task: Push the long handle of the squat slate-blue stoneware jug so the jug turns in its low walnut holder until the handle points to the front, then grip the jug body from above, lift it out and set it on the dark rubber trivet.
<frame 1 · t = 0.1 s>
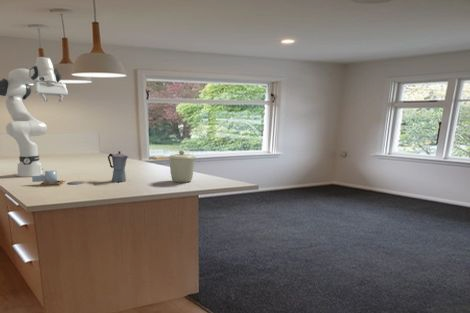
hand: (53, 101, 209), 52 cm above the countertop, tool tilted 20°, fingers open, 8 cm apart
mat: (76, 184, 206), on the countertop
canister: (182, 181, 220), on the countertop
moka pot: (118, 181, 219), on the countertop
holder: (51, 185, 203), on the countertop
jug: (51, 184, 203), point 1 cm above the countertop, touching holder
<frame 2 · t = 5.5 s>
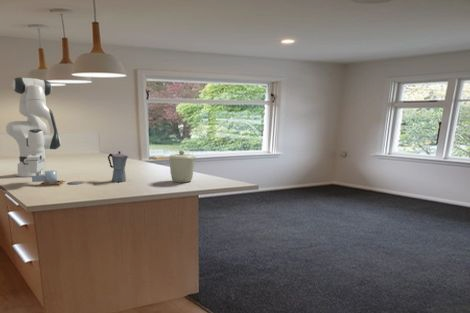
hand: (38, 177, 202), 5 cm above the countertop, tool pointing down, fingers closed
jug: (51, 184, 203), point 1 cm above the countertop, touching gripper
everything else where it was.
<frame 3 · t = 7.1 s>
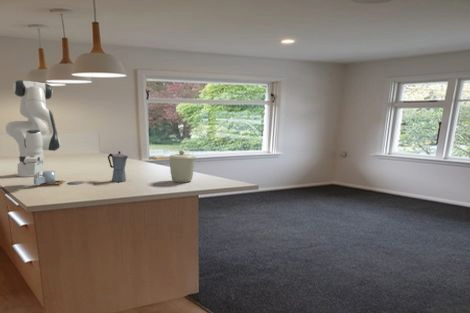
hand: (36, 180, 195), 4 cm above the countertop, tool pointing down, fingers closed
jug: (49, 184, 202), point 1 cm above the countertop, touching gripper, holder
everything else where it was.
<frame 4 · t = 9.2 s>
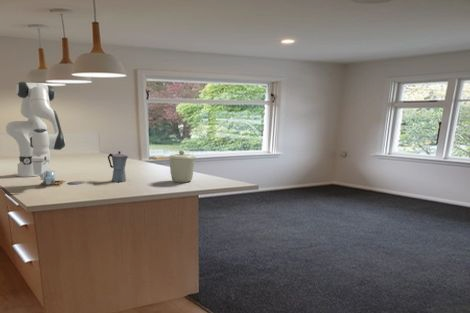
hand: (43, 179, 194), 5 cm above the countertop, tool pointing down, fingers closed
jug: (49, 184, 202), point 1 cm above the countertop, touching holder
everything else where it was.
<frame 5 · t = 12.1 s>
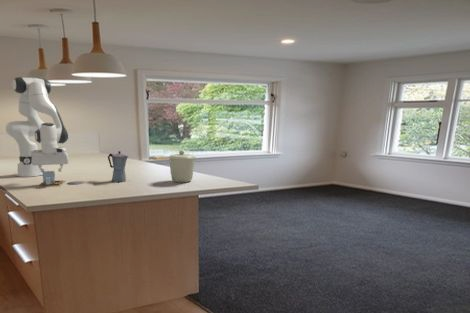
hand: (51, 171, 202), 8 cm above the countertop, tool pointing down, fingers open, 8 cm apart
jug: (49, 184, 202), point 1 cm above the countertop, touching gripper, holder
everything else where it was.
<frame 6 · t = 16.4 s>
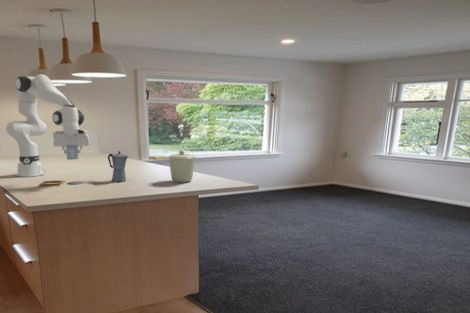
hand: (72, 153, 203), 20 cm above the countertop, tool pointing down, fingers closed on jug, 6 cm apart
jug: (72, 158, 203), point 16 cm above the countertop, touching gripper
everything else where it was.
when the fingers open (5 cm above the countertop, at t = 19.7 s): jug stays where it is, resting on mat.
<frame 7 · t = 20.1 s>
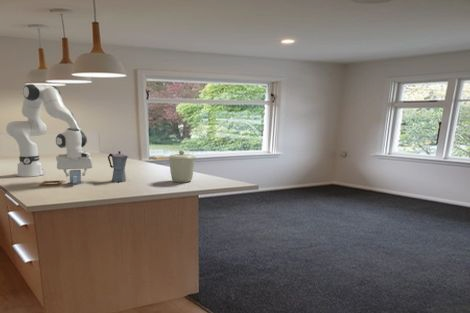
hand: (75, 175, 206), 5 cm above the countertop, tool pointing down, fingers open, 8 cm apart
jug: (75, 183, 205), point 1 cm above the countertop, touching mat
everything else where it was.
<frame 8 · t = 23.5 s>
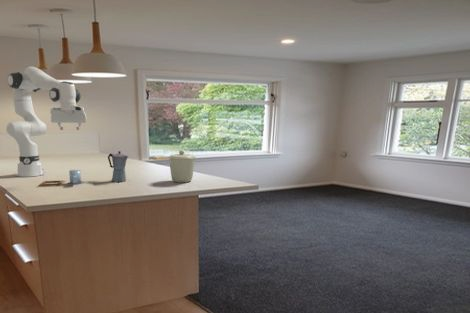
hand: (69, 129, 207), 34 cm above the countertop, tool pointing down, fingers open, 8 cm apart
nothing on the countertop moved.
at the end: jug 0.8 cm from the mat (horizontally); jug tilted 0°; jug point 1.0 cm above the countertop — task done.
